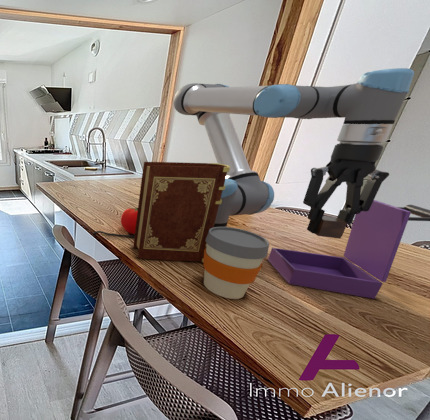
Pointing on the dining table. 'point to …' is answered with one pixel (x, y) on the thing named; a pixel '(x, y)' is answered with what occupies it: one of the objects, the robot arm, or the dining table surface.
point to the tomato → (129, 220)
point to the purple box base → (324, 272)
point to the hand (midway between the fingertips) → (323, 232)
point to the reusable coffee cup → (232, 260)
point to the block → (331, 227)
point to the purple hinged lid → (380, 236)
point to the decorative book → (177, 209)
